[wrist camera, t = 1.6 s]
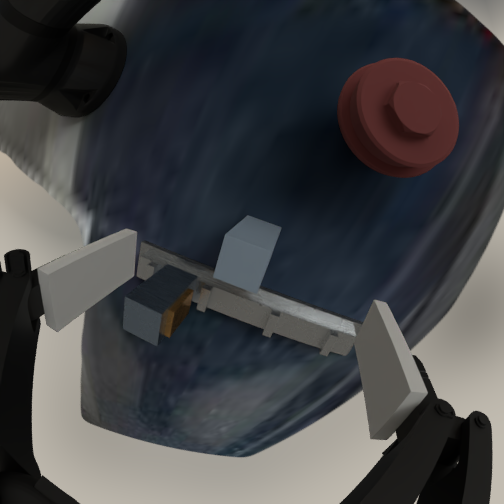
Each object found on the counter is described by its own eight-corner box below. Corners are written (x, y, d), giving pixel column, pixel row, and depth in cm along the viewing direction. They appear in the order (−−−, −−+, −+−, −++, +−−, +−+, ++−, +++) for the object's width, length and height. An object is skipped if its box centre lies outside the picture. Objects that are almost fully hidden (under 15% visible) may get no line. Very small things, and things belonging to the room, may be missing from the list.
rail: (139, 273, 36) (86, 311, 25) (144, 240, 34) (86, 271, 23) (346, 351, 33) (355, 416, 23) (364, 322, 32) (382, 385, 21)
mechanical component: (411, 93, 23) (416, 178, 25) (327, 83, 24) (330, 172, 27) (464, 60, 11) (476, 188, 14) (339, 34, 13) (350, 174, 16)
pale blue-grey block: (247, 215, 30) (225, 234, 22) (281, 227, 30) (272, 251, 22) (235, 252, 32) (211, 283, 24) (268, 264, 32) (254, 299, 23)
